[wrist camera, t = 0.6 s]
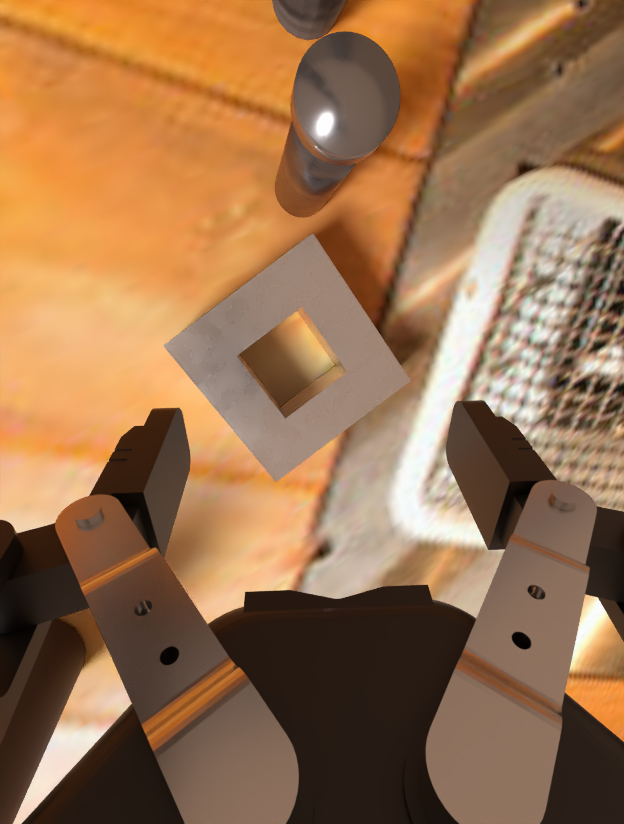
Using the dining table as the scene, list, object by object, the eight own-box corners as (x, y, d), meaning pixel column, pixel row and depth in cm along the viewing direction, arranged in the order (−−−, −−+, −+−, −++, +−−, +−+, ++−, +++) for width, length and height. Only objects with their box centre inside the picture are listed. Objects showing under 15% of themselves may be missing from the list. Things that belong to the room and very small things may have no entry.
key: (258, 179, 31) (272, 74, 17) (308, 140, 31) (361, 7, 17) (295, 234, 32) (335, 177, 19) (343, 197, 32) (419, 113, 19)
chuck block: (172, 341, 32) (163, 345, 28) (304, 242, 32) (312, 232, 28) (272, 463, 35) (276, 481, 32) (391, 373, 35) (410, 380, 32)
